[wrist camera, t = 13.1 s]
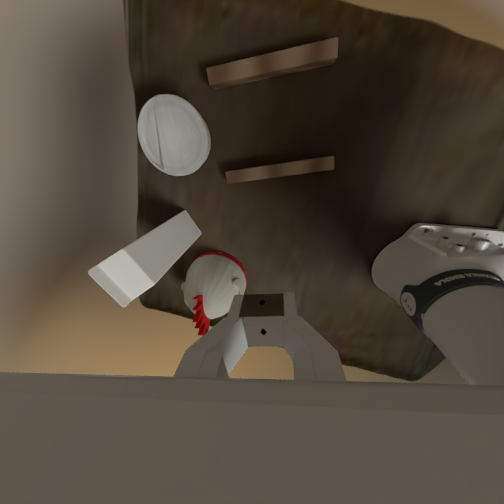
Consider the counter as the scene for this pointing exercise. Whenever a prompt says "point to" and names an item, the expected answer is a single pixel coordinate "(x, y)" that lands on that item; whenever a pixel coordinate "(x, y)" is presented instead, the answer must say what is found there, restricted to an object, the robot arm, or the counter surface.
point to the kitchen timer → (212, 286)
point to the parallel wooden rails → (269, 68)
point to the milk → (145, 259)
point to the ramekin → (173, 135)
